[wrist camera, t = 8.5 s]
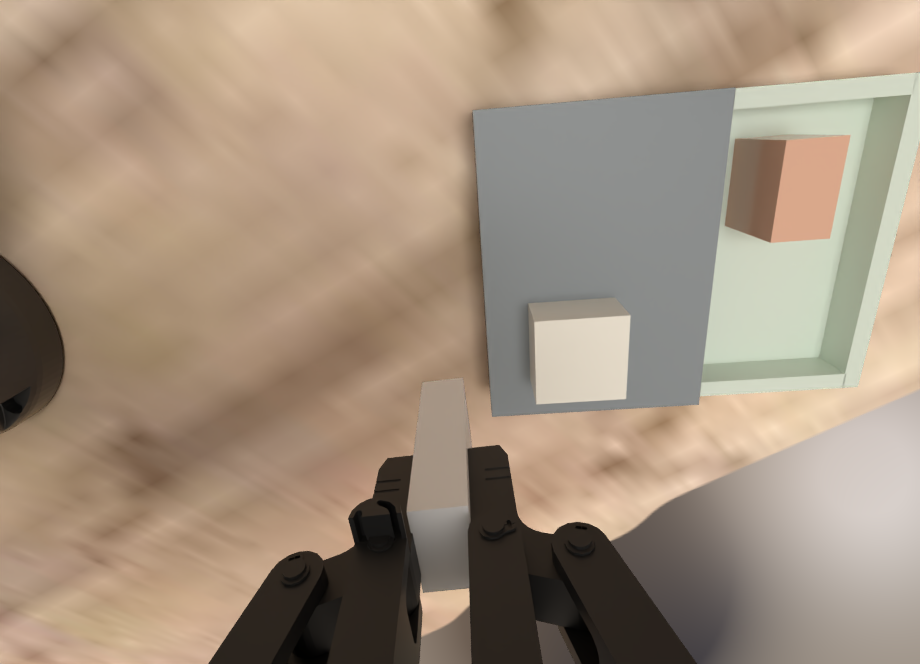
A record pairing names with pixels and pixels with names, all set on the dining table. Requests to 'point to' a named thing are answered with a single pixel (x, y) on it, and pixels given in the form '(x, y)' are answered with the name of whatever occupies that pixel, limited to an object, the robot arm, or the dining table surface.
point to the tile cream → (578, 350)
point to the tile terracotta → (786, 186)
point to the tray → (813, 242)
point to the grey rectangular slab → (603, 232)
